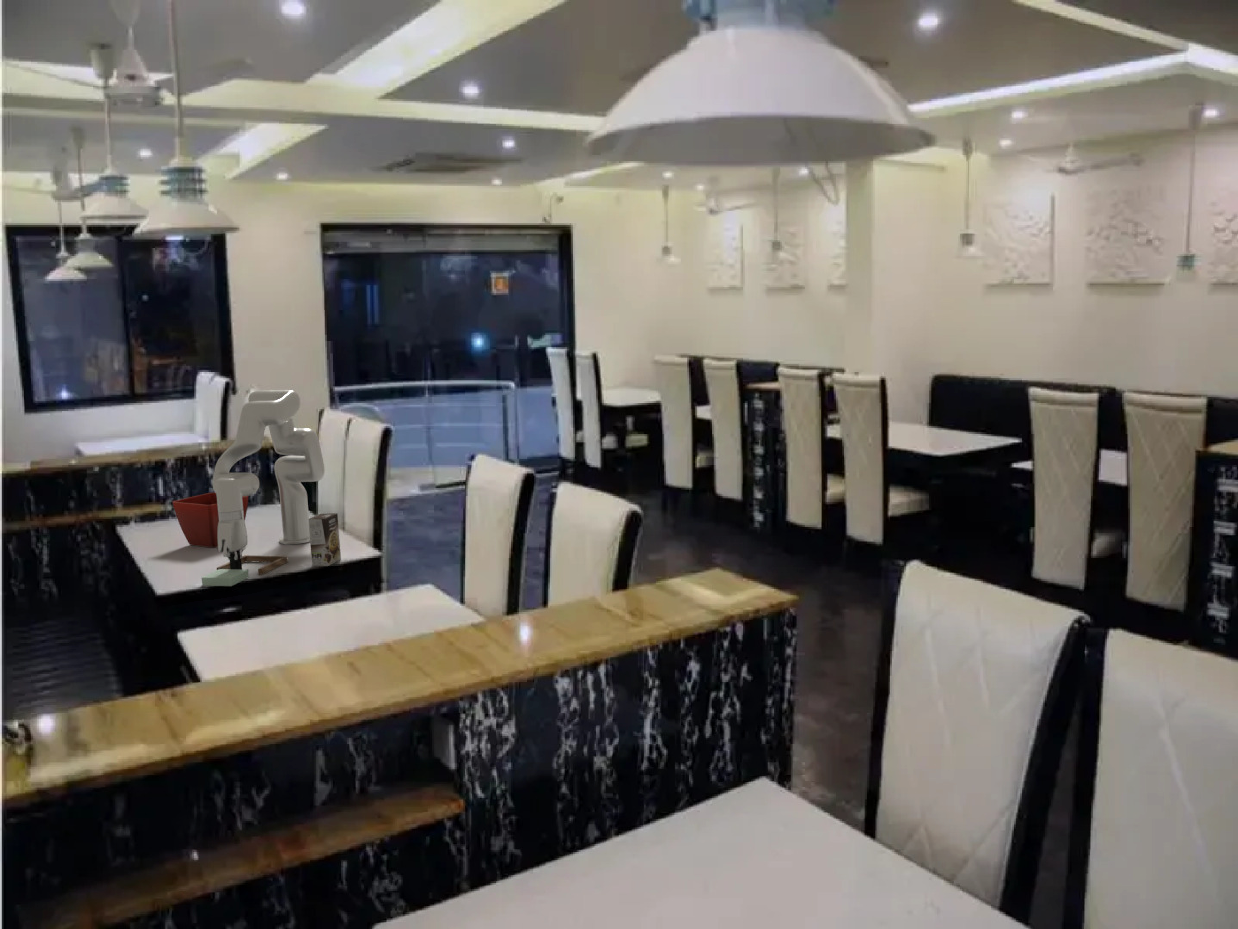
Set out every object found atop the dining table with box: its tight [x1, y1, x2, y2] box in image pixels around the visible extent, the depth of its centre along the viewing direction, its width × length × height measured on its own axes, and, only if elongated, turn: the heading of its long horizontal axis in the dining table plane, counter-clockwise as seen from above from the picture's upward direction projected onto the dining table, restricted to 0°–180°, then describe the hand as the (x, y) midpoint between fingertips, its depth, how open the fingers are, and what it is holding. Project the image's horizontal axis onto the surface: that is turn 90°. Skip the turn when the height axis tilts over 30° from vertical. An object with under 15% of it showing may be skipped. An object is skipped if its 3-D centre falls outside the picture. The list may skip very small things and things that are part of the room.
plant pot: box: [172, 492, 249, 548], centre depth 369 cm, size 19×19×17 cm
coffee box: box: [309, 512, 342, 567], centre depth 336 cm, size 9×6×16 cm
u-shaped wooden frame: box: [216, 554, 288, 576], centre depth 333 cm, size 16×16×2 cm
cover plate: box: [201, 569, 250, 587], centre depth 318 cm, size 10×10×3 cm
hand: (236, 571), depth 324 cm, fingers closed
